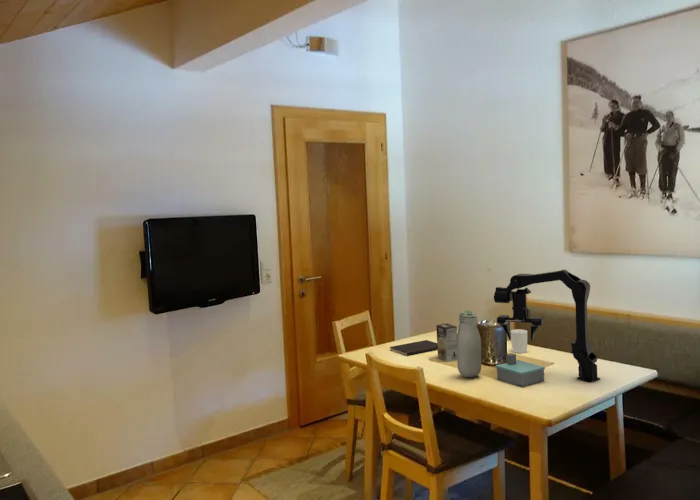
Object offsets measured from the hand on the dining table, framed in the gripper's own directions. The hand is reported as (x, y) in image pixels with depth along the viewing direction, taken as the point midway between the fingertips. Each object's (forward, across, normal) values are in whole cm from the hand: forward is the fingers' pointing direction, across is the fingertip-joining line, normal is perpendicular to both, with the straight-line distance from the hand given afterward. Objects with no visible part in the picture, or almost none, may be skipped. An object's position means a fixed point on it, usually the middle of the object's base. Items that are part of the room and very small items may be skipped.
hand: (520, 340), depth 257 cm
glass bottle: (+14, +18, +14) cm, 27 cm away
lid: (+10, -3, +12) cm, 16 cm away
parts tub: (+14, -2, +12) cm, 18 cm away
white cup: (+14, +10, -34) cm, 38 cm away
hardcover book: (+14, +59, -23) cm, 65 cm away
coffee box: (+14, +38, -10) cm, 41 cm away
